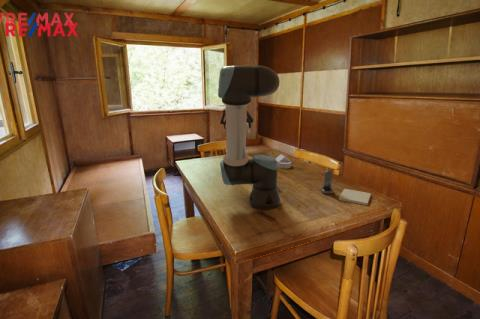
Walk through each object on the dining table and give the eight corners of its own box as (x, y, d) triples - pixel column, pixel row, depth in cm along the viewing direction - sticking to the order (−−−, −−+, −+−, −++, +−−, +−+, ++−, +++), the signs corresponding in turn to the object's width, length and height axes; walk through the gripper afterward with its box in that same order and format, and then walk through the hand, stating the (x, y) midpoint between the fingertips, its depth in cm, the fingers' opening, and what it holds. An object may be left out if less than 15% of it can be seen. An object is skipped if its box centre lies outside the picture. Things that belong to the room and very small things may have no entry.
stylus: (331, 195, 139) (333, 173, 136) (319, 193, 143) (320, 171, 139) (334, 191, 145) (336, 170, 141) (322, 189, 148) (324, 168, 144)
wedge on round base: (274, 163, 194) (279, 168, 182) (275, 154, 192) (280, 159, 180) (287, 162, 196) (292, 168, 183) (287, 153, 194) (293, 158, 181)
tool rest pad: (367, 205, 128) (367, 203, 128) (338, 199, 134) (339, 197, 134) (370, 195, 139) (371, 193, 138) (344, 190, 145) (344, 188, 145)
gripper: (255, 96, 155) (259, 129, 167) (214, 99, 162) (221, 130, 173) (253, 101, 149) (257, 135, 161) (210, 104, 156) (217, 136, 167)
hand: (238, 133), depth 167 cm, fingers open, 13 cm apart
